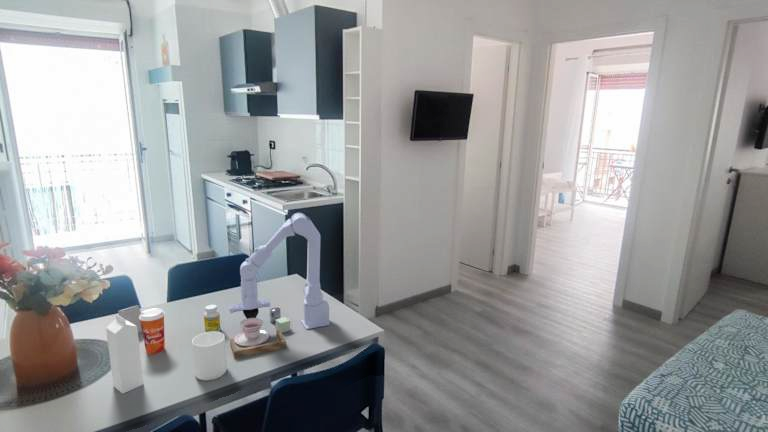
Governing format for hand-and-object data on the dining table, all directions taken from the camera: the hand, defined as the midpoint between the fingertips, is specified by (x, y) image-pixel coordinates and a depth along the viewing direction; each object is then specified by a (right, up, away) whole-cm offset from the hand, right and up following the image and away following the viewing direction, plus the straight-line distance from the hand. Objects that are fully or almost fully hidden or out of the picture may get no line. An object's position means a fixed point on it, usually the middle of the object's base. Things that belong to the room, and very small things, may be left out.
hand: (251, 327), depth 163 cm
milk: (-26, -9, -34) cm, 44 cm away
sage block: (+12, -1, +2) cm, 12 cm away
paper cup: (-28, -4, -15) cm, 32 cm away
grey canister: (+7, 0, +8) cm, 11 cm away
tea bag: (-43, -2, -3) cm, 43 cm away
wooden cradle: (+6, -4, -11) cm, 13 cm away
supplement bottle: (-14, -1, 0) cm, 14 cm away
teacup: (+2, -3, -6) cm, 7 cm away
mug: (-5, -7, -26) cm, 28 cm away
